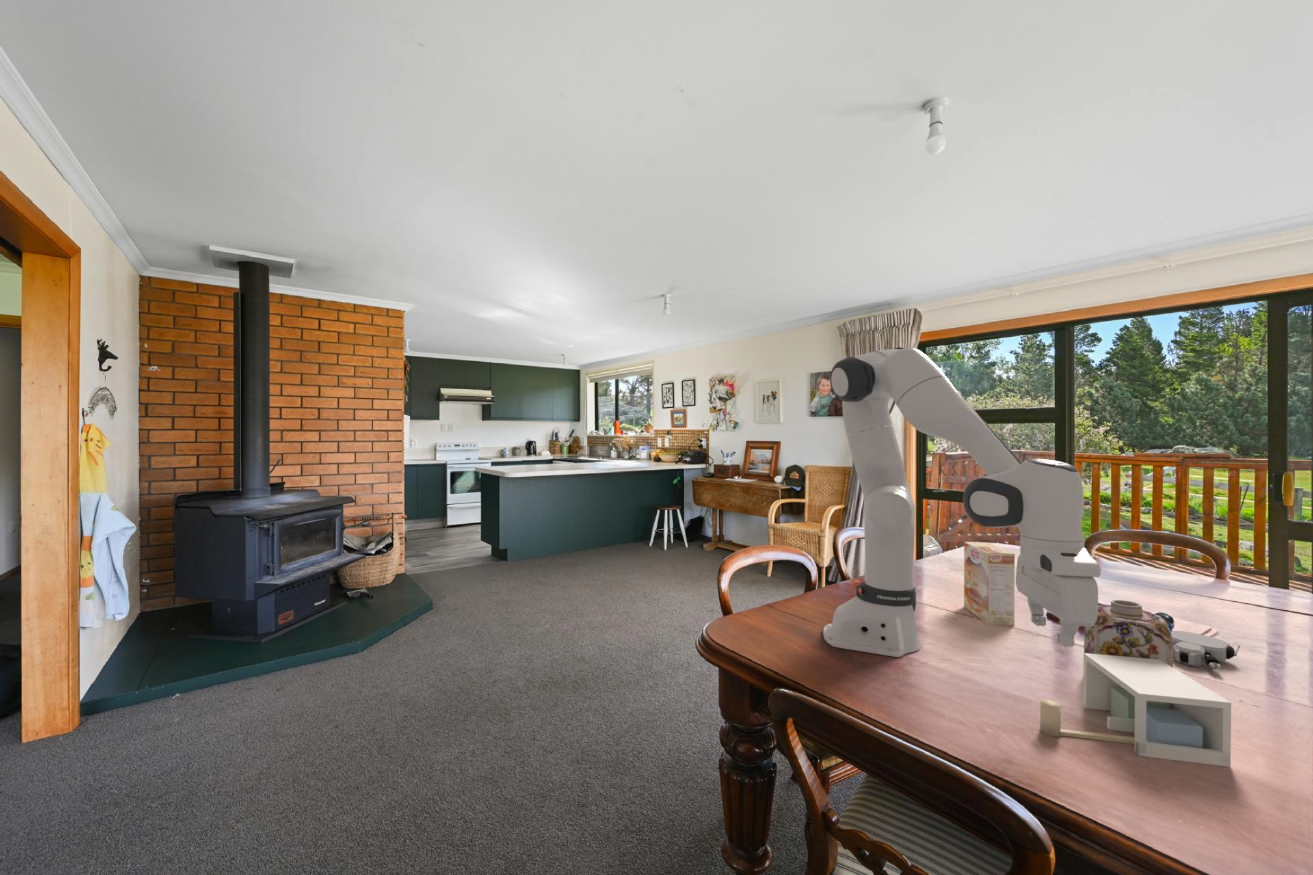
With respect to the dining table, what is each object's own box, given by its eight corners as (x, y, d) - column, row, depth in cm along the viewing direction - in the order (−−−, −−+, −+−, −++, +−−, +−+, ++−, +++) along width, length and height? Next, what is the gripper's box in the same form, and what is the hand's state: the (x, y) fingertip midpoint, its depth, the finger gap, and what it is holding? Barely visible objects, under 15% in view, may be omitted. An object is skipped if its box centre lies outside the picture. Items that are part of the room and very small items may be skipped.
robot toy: (1223, 682, 112) (1241, 660, 119) (1222, 661, 111) (1241, 641, 119) (1146, 661, 122) (1168, 642, 130) (1146, 641, 122) (1168, 624, 130)
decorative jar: (1174, 714, 97) (1175, 616, 97) (1092, 697, 103) (1093, 605, 103) (1156, 687, 107) (1157, 599, 107) (1083, 673, 113) (1083, 590, 113)
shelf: (1138, 755, 84) (1138, 693, 84) (1083, 705, 100) (1083, 652, 100) (1230, 766, 82) (1231, 702, 81) (1158, 713, 97) (1159, 659, 97)
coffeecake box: (962, 606, 157) (963, 541, 157) (988, 607, 156) (989, 542, 156) (987, 624, 142) (987, 552, 142) (1015, 626, 141) (1016, 553, 141)
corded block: (1047, 739, 89) (1048, 709, 89) (1034, 723, 94) (1034, 695, 94) (1202, 758, 84) (1202, 726, 84) (1179, 740, 89) (1179, 710, 89)
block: (1127, 728, 92) (1128, 699, 92) (1110, 713, 97) (1110, 686, 97) (1168, 732, 91) (1169, 704, 91) (1149, 717, 96) (1149, 690, 96)
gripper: (1005, 541, 101) (1006, 612, 102) (1059, 567, 82) (1060, 656, 82) (1043, 542, 100) (1043, 615, 100) (1107, 569, 80) (1107, 660, 80)
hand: (1051, 634), depth 91 cm, fingers open, 8 cm apart
